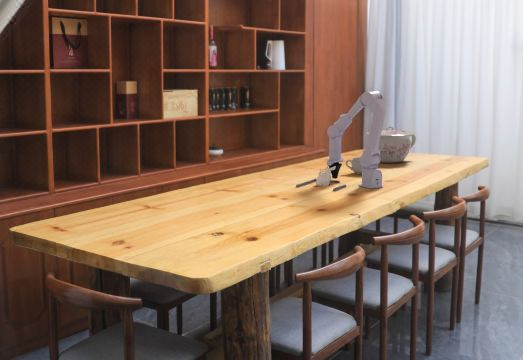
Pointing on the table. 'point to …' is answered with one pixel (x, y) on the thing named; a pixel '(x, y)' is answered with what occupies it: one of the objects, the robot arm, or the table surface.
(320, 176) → the white figurine
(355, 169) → the teacup
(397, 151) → the chamber pot
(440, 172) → the table surface
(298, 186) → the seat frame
